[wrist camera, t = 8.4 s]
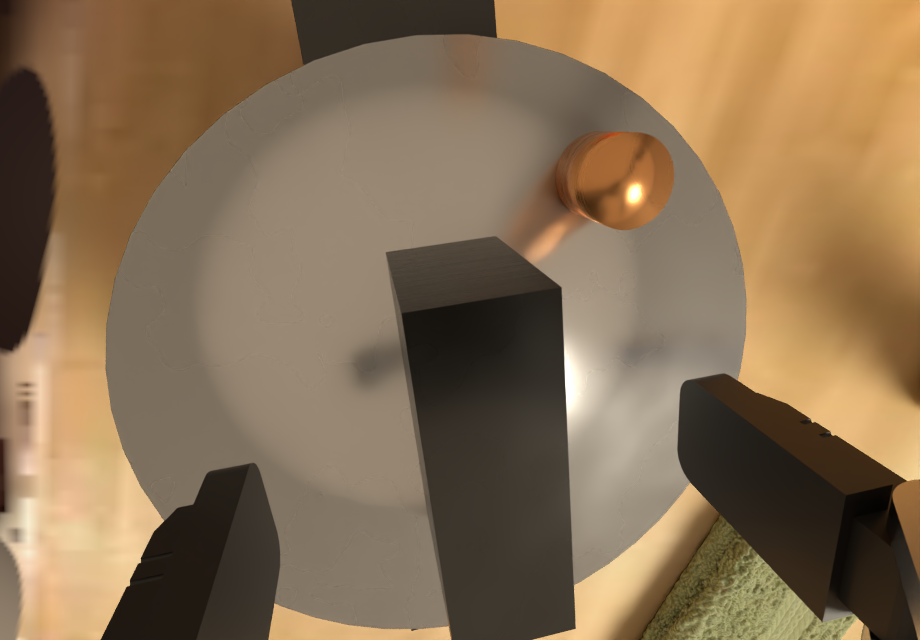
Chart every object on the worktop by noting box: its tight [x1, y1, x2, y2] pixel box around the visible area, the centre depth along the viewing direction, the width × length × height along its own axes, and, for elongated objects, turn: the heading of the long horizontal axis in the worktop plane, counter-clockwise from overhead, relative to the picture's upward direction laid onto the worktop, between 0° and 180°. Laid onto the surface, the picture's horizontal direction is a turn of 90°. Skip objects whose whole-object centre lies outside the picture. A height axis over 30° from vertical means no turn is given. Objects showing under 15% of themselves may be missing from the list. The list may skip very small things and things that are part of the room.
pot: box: [291, 0, 497, 631], centre depth 18 cm, size 20×14×10 cm
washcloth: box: [641, 515, 858, 640], centre depth 34 cm, size 13×18×3 cm
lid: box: [106, 34, 746, 640], centre depth 11 cm, size 15×15×5 cm
